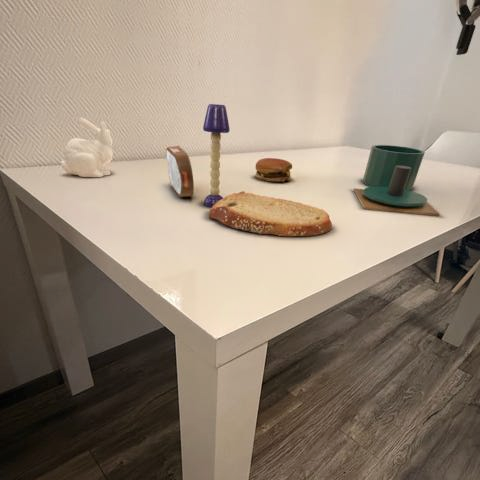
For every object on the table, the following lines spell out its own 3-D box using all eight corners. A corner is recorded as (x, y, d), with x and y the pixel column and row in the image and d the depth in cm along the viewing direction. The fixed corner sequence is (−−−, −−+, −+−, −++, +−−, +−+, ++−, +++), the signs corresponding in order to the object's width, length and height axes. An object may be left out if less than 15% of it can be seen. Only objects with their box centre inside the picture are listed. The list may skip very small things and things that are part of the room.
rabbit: (115, 170, 84) (107, 115, 77) (121, 179, 78) (112, 119, 71) (63, 171, 80) (49, 113, 73) (63, 181, 73) (48, 118, 66)
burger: (255, 173, 90) (257, 154, 87) (289, 176, 90) (292, 157, 87) (253, 182, 82) (255, 161, 79) (291, 185, 82) (294, 164, 79)
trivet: (417, 196, 80) (417, 194, 79) (438, 216, 67) (439, 213, 67) (353, 190, 81) (354, 188, 80) (363, 209, 69) (364, 206, 68)
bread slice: (340, 230, 57) (345, 209, 55) (254, 248, 49) (256, 224, 47) (277, 201, 69) (279, 183, 67) (200, 212, 61) (199, 191, 59)
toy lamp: (203, 200, 68) (202, 102, 58) (226, 200, 68) (229, 104, 58) (203, 207, 64) (202, 104, 54) (228, 208, 64) (231, 106, 54)
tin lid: (415, 194, 79) (426, 163, 75) (434, 212, 68) (448, 176, 64) (357, 189, 80) (365, 158, 76) (367, 205, 69) (377, 170, 65)
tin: (195, 202, 66) (194, 155, 61) (179, 202, 65) (177, 155, 60) (180, 183, 78) (178, 142, 73) (166, 183, 77) (163, 142, 72)
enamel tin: (405, 181, 92) (416, 147, 87) (418, 193, 82) (431, 155, 77) (359, 177, 93) (368, 143, 88) (367, 188, 83) (377, 151, 78)
